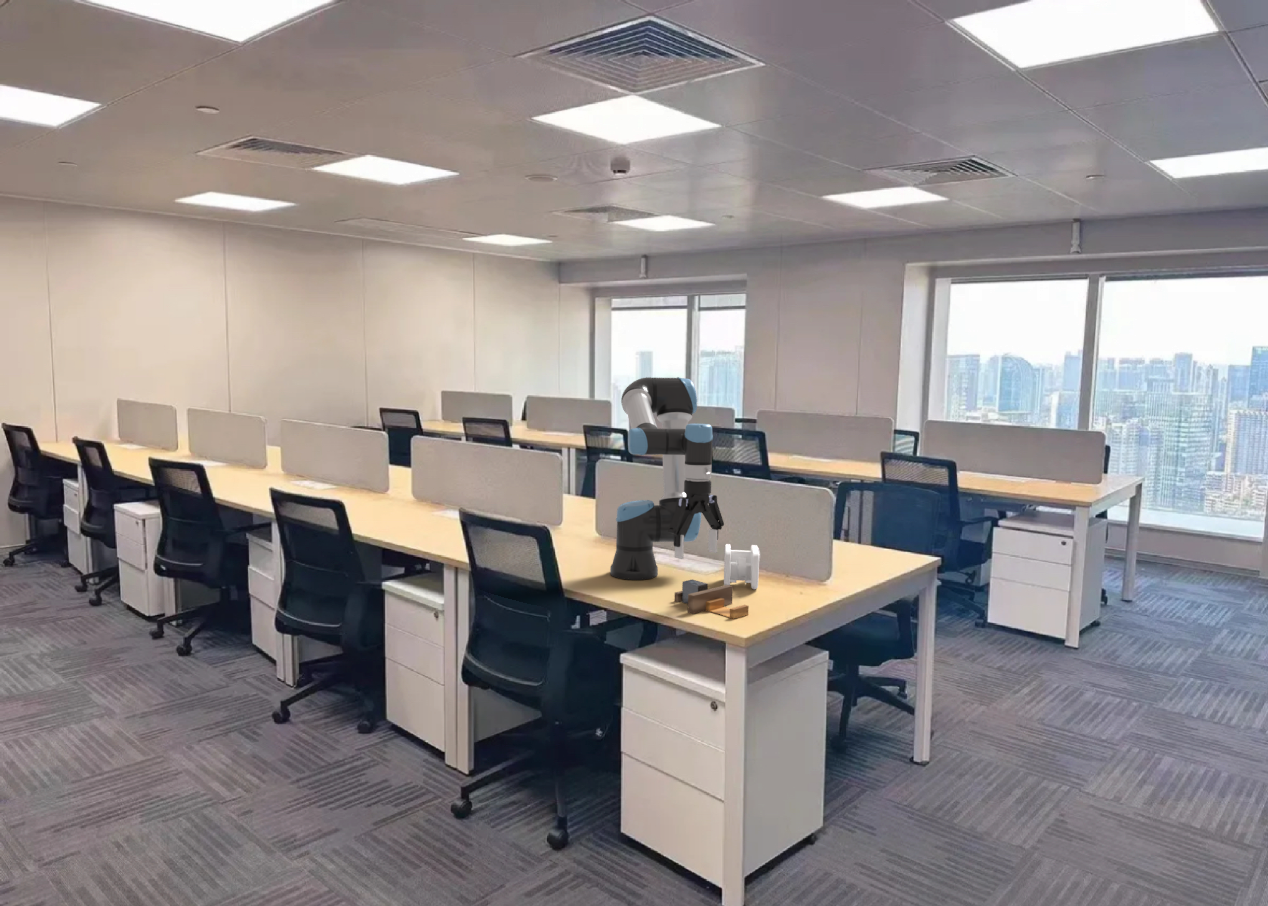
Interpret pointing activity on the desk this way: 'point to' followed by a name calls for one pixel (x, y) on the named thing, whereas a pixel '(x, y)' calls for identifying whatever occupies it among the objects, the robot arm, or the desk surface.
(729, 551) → the cable organizer
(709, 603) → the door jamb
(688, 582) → the block
